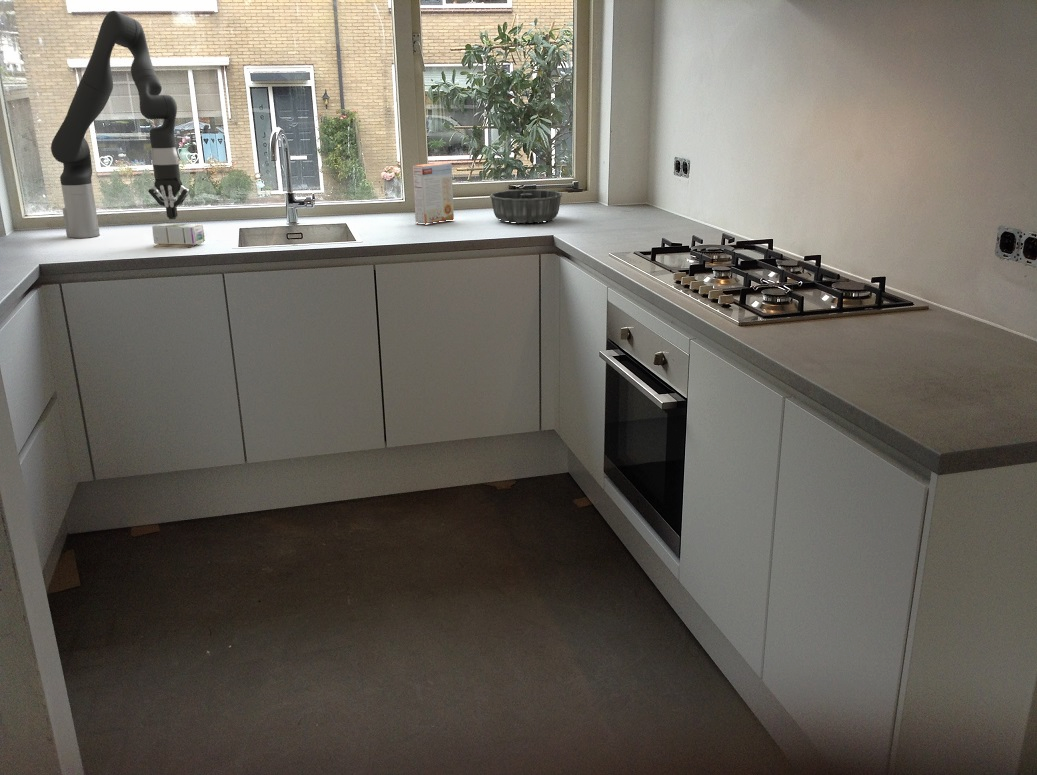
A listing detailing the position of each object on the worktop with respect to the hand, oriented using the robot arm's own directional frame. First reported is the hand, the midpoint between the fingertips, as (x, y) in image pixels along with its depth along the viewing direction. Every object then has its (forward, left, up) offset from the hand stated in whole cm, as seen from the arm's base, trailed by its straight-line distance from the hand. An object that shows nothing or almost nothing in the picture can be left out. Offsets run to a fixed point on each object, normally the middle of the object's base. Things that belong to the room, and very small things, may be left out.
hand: (172, 219), depth 285 cm
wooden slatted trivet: (+1, 0, -8) cm, 8 cm away
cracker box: (+75, +49, -8) cm, 90 cm away
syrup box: (-6, 0, -4) cm, 7 cm away
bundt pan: (+108, +55, -8) cm, 121 cm away
